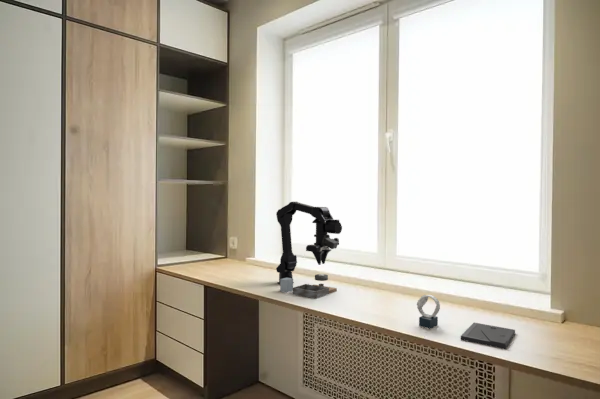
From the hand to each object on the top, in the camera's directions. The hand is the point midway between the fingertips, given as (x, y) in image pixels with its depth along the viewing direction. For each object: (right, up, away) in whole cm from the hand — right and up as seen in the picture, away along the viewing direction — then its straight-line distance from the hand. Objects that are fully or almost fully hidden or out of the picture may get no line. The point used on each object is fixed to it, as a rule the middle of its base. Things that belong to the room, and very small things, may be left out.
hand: (321, 264), depth 198 cm
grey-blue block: (-17, -13, -1) cm, 21 cm away
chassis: (-3, -13, -4) cm, 14 cm away
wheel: (0, -7, 0) cm, 7 cm away
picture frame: (+53, -15, -63) cm, 84 cm away
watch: (+36, -14, -52) cm, 65 cm away
